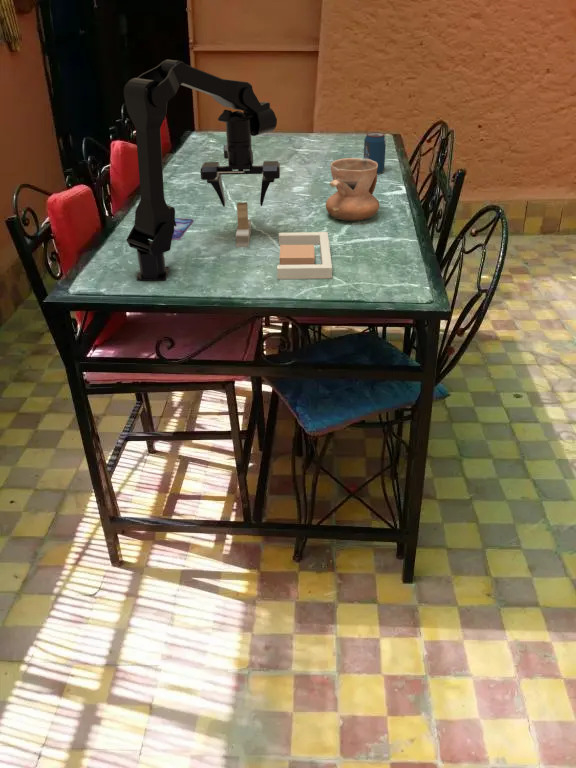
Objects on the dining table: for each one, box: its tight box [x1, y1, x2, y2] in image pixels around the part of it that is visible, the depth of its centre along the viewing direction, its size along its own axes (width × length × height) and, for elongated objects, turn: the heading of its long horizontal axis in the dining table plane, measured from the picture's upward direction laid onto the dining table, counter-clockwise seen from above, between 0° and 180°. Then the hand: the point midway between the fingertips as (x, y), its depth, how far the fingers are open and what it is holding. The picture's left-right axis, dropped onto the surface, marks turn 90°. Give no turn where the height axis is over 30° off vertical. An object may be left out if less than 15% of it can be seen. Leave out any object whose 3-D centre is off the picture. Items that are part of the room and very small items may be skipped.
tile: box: [279, 245, 315, 265], centre depth 149 cm, size 8×8×2 cm
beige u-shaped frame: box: [276, 231, 333, 280], centre depth 149 cm, size 12×22×2 cm, turn 0°
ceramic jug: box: [325, 157, 380, 222], centre depth 170 cm, size 18×14×14 cm
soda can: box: [363, 131, 387, 175], centre depth 206 cm, size 7×7×12 cm
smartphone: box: [172, 217, 195, 241], centre depth 167 cm, size 7×1×15 cm
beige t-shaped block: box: [235, 201, 252, 248], centre depth 159 cm, size 12×3×9 cm, turn 179°
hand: (242, 205), depth 157 cm, fingers open, 9 cm apart
